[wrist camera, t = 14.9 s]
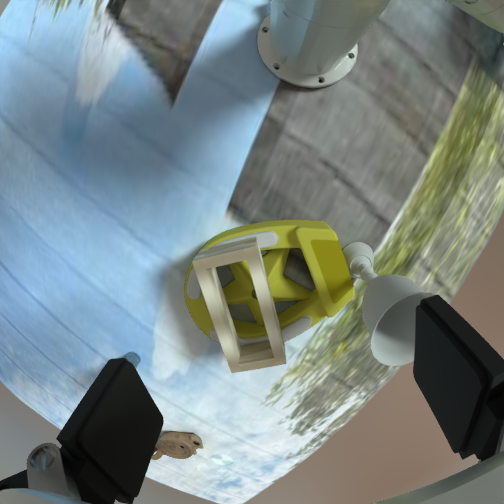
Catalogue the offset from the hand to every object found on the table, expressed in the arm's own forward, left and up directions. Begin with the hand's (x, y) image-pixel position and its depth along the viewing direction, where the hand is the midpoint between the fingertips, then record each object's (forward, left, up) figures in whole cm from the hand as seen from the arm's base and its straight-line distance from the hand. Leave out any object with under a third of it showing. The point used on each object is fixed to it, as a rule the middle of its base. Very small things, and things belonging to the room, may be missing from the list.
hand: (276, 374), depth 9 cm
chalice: (+9, +10, -31) cm, 33 cm away
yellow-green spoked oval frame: (+9, -3, -31) cm, 32 cm away
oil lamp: (+40, -28, -31) cm, 57 cm away
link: (+9, -5, -26) cm, 28 cm away
